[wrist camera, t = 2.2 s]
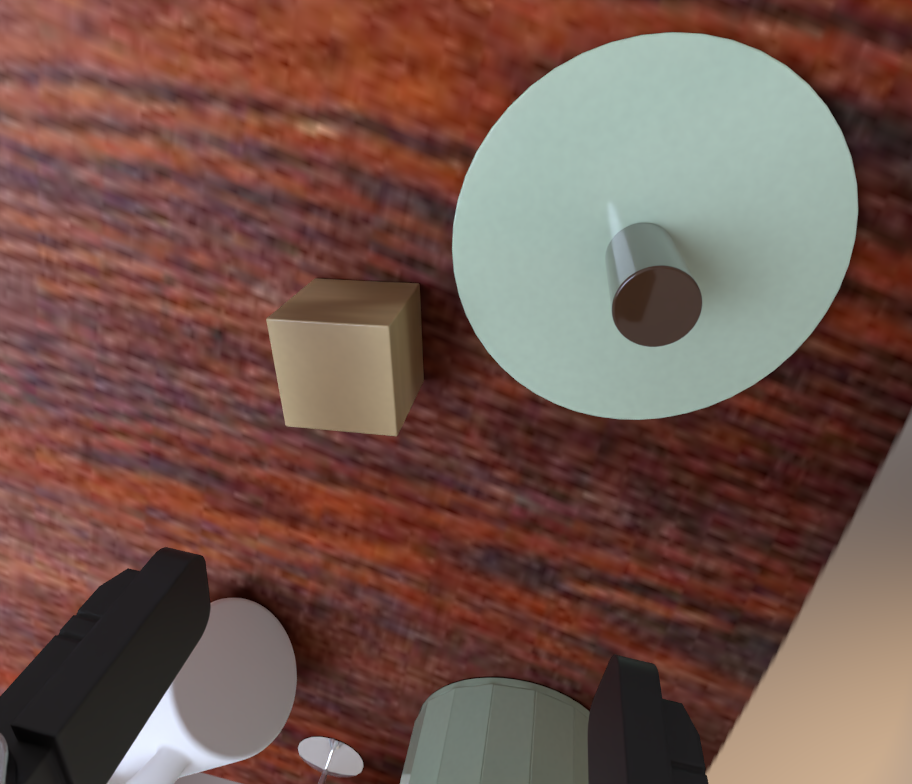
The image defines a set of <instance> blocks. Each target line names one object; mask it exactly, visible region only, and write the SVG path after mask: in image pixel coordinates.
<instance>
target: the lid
mask: <svg viewBox="0 0 912 784" xmlns="http://www.w3.org/2000/svg"><path fill="white" fill-rule="evenodd" d="M857 219H858V192H857V180H856V175H855V171H854V166H853V161H852V156H851V153H850V151H849V148H848V146H847V143H846V140H845V138H844V135H843V133H842V130H841V128H840V127H839V125H838V123H837V121H836V120H835V118H834V116H833V115H832V113H831V111H830V110H829V108H828V106H827V105H826V104H825V103H824V101H823V100H822V99H821V98H820V97H819V96H818V94H817V93H816V92H815V91H814V90H813V88H812V87H811V86H810V85H809V84H808V83H807V82H806V81H805V80H803V79H802V78H801V77H800V76H799V75H797V74H796V73H795V72H794V71H793V70H791V69H790V68H789V67H788V66H787V65H785V64H783V63H782V62H780V61H778V60H776V59H775V58H773V57H771V56H770V55H768V54H766V53H764V52H763V51H761V50H758V49H756V48H753V47H750V46H748V45H745V44H743V43H740V42H737V41H735V40H731V39H727V38H722V37H717V36H712V35H707V34H702V33H683V32H666V33H656V34H645V35H638V36H634V37H630V38H626V39H622V40H617V41H613V42H610V43H607V44H605V45H602V46H599V47H597V48H594V49H592V50H589V51H587V52H584V53H582V54H580V55H578V56H576V57H574V58H572V59H571V60H569V61H567V62H565V63H563V64H562V65H560V66H558V67H556V68H554V69H553V70H552V71H550V72H549V73H548V74H546V75H545V76H544V77H542V78H541V79H539V80H538V81H537V82H535V83H534V84H533V85H531V86H530V87H529V88H528V89H527V90H526V91H525V92H524V93H523V94H522V95H521V96H520V97H518V98H517V99H516V100H515V101H514V102H513V103H512V104H511V105H510V106H509V107H508V108H507V110H506V111H505V112H504V113H503V115H502V116H501V117H500V118H499V119H498V121H497V122H496V123H495V124H494V126H493V127H492V128H491V129H490V131H489V133H488V134H487V136H486V137H485V139H484V141H483V142H482V144H481V145H480V147H479V149H478V150H477V152H476V154H475V156H474V158H473V161H472V163H471V165H470V167H469V169H468V171H467V174H466V176H465V179H464V182H463V185H462V188H461V191H460V195H459V198H458V201H457V207H456V212H455V218H454V223H453V239H452V255H453V268H454V275H455V280H456V285H457V289H458V294H459V297H460V300H461V302H462V305H463V308H464V311H465V314H466V316H467V318H468V320H469V322H470V324H471V326H472V328H473V330H474V332H475V334H476V335H477V337H478V338H479V340H480V341H481V343H482V344H483V346H484V347H485V348H486V350H487V351H488V353H489V354H490V355H491V356H492V357H493V358H494V359H495V360H496V362H497V363H498V364H499V365H500V366H501V367H502V368H503V369H504V370H505V371H506V372H507V373H509V374H510V375H511V376H512V377H513V378H514V379H515V380H517V381H518V382H519V383H521V384H522V385H523V386H525V387H526V388H528V389H529V390H531V391H532V392H534V393H535V394H537V395H539V396H541V397H543V398H545V399H547V400H549V401H551V402H553V403H555V404H557V405H560V406H563V407H565V408H568V409H571V410H573V411H577V412H581V413H585V414H589V415H593V416H598V417H605V418H613V419H632V420H642V419H655V418H664V417H670V416H675V415H680V414H686V413H689V412H692V411H696V410H699V409H702V408H706V407H709V406H711V405H714V404H716V403H718V402H721V401H723V400H726V399H728V398H730V397H732V396H734V395H736V394H738V393H740V392H741V391H743V390H745V389H747V388H749V387H751V386H752V385H754V384H755V383H757V382H758V381H760V380H761V379H763V378H764V377H765V376H767V375H768V374H770V373H771V372H773V371H774V370H775V369H776V368H777V367H779V366H780V365H781V364H782V363H783V362H784V361H785V360H787V359H788V358H789V357H790V356H791V355H792V354H793V353H794V352H795V351H796V350H797V349H798V348H799V347H800V346H801V345H802V343H803V342H804V341H805V340H806V339H807V338H808V337H809V336H810V335H811V333H812V332H813V331H814V329H815V328H816V326H817V325H818V324H819V322H820V321H821V320H822V318H823V317H824V315H825V314H826V312H827V311H828V309H829V307H830V305H831V303H832V302H833V300H834V298H835V296H836V294H837V292H838V291H839V289H840V286H841V283H842V281H843V278H844V276H845V273H846V271H847V268H848V266H849V262H850V258H851V254H852V250H853V246H854V242H855V238H856V229H857Z"/></svg>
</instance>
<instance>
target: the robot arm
mask: <svg viewBox="0 0 912 784" xmlns="http://www.w3.org/2000/svg"><path fill="white" fill-rule="evenodd" d="M210 609H211V605H210V596H209V588H208V579H207V571H206V563H205V559H204V557H203V556H201V555H197V554H193V553H189V552H185V551H180V550H176V549H172V548H168V547H164V548H162V549H160V550H159V551H157V552H156V553H155V554H154V555H153V557H152V558H151V559H150V560H149V561H148V562H147V564H146V565H145V566H144V567H143V568H142V570H141V571H136V570H132V569H126V570H125V571H123V572H122V573H120V574H119V575H117V576H115V577H114V578H112V579H111V580H109V581H108V582H106V583H104V584H103V585H101V586H100V587H99V588H98V589H97V590H96V591H95V592H94V593H93V594H92V595H91V597H90V598H89V599H88V600H87V601H86V602H85V603H84V604H83V605H82V607H81V608H80V609H79V610H78V613H77V615H76V616H75V615H73V616H72V618H71V619H70V620H69V621H68V622H67V623H66V624H65V625H64V626H63V628H62V629H61V630H60V633H59V635H58V636H56V635H55V636H54V638H53V639H52V640H51V641H50V642H49V643H48V644H47V645H46V646H45V648H44V649H43V650H42V651H41V652H40V653H39V654H38V655H37V656H36V658H35V659H34V660H33V661H32V662H31V663H30V664H29V665H28V666H27V667H26V669H25V670H24V671H23V672H22V673H21V674H20V675H19V676H18V677H17V679H16V680H15V681H14V682H13V683H12V684H11V685H10V686H9V687H8V689H7V690H6V691H5V692H4V693H3V694H2V695H1V696H0V784H107V783H108V781H109V780H110V778H111V777H112V775H113V774H114V772H115V771H116V769H117V767H118V766H119V764H120V763H121V761H122V760H123V758H124V757H125V755H126V753H127V752H128V750H129V749H130V747H131V746H132V744H133V743H134V741H135V740H136V738H137V736H138V735H139V733H140V732H141V730H142V729H143V727H144V726H145V724H146V722H147V721H148V719H149V718H150V716H151V715H152V713H153V712H154V710H155V709H156V707H157V705H158V704H159V702H160V701H161V699H162V698H163V696H164V695H165V693H166V691H167V690H168V688H169V687H170V685H171V684H172V682H173V681H174V679H175V678H176V676H177V674H178V673H179V671H180V670H181V668H182V667H183V665H184V664H185V662H186V660H187V659H188V657H189V656H190V654H191V653H192V651H193V650H194V648H195V647H196V645H197V643H198V642H199V640H200V639H201V637H202V635H203V633H204V631H205V629H206V626H207V623H208V620H209V616H210ZM588 783H589V784H708V779H707V775H705V763H704V758H703V753H702V747H701V742H700V737H699V734H698V732H697V730H696V728H695V727H694V725H693V723H692V721H691V719H690V717H689V715H688V714H687V712H686V710H685V708H684V706H683V704H682V703H678V702H673V701H669V700H665V699H662V695H661V687H660V680H659V674H658V670H657V667H656V666H655V665H654V664H652V663H648V662H644V661H639V660H635V659H631V658H627V657H622V656H618V655H613V656H612V657H611V659H610V661H609V663H608V666H607V668H606V670H605V673H604V675H603V677H602V680H601V682H600V684H599V687H598V689H597V692H596V694H595V696H594V699H593V701H592V705H591V709H590V714H589V721H588Z"/></svg>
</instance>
